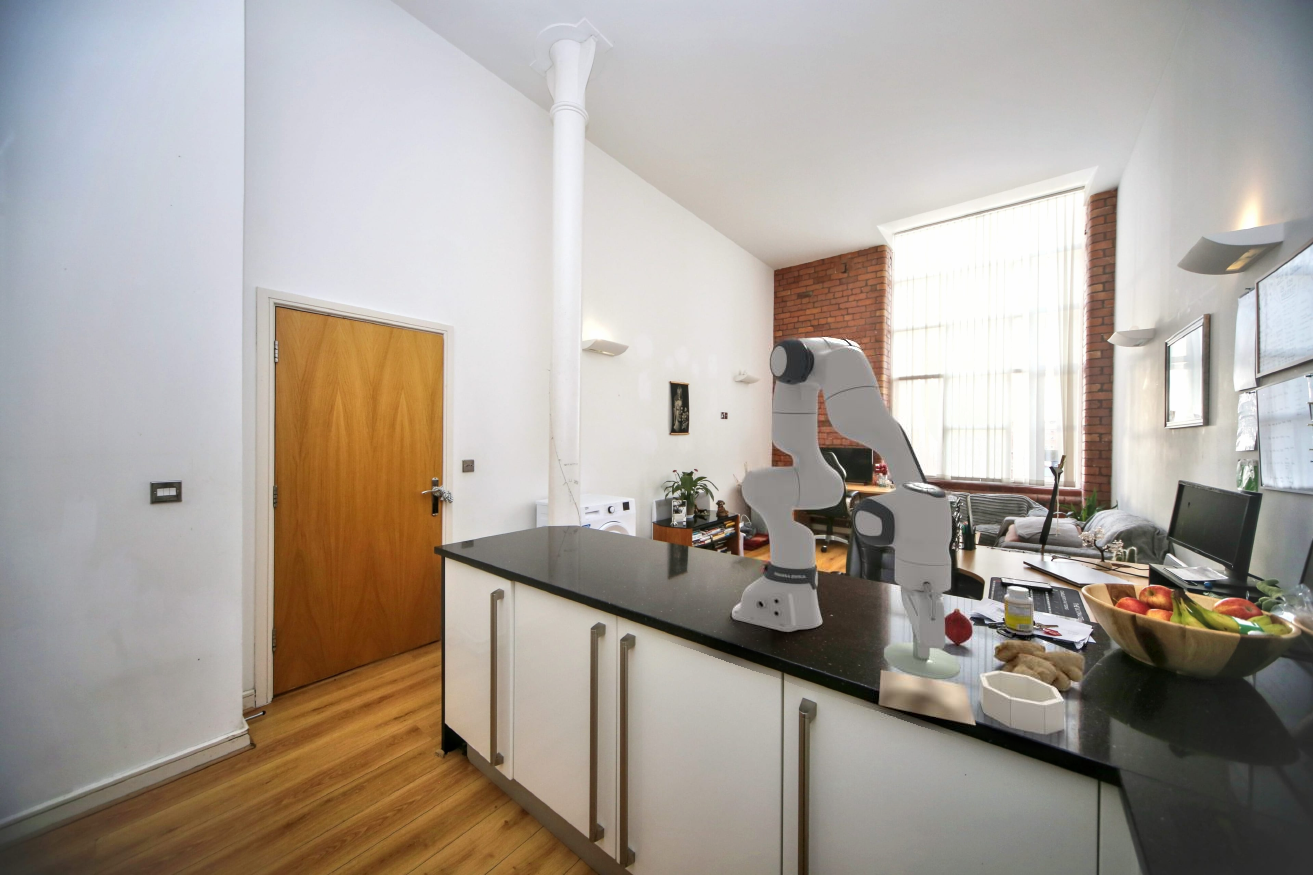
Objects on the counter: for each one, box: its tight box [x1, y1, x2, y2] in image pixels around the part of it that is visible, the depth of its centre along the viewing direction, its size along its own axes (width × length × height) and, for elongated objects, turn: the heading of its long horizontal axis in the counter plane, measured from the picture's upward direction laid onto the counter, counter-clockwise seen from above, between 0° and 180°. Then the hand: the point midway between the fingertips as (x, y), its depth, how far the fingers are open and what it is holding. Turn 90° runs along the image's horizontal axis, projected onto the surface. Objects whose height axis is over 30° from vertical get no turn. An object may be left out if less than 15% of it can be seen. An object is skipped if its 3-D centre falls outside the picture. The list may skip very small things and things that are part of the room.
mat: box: [878, 669, 977, 726], centre depth 87 cm, size 14×14×1 cm
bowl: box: [979, 670, 1065, 735], centre depth 81 cm, size 11×11×5 cm
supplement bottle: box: [1003, 585, 1034, 636], centre depth 117 cm, size 6×6×10 cm
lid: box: [883, 635, 961, 680], centre depth 88 cm, size 12×12×4 cm
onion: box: [945, 607, 973, 646], centre depth 110 cm, size 6×6×8 cm
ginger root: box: [993, 639, 1086, 692], centre depth 94 cm, size 16×16×8 cm
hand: (920, 650), depth 88 cm, fingers closed on lid, 3 cm apart
